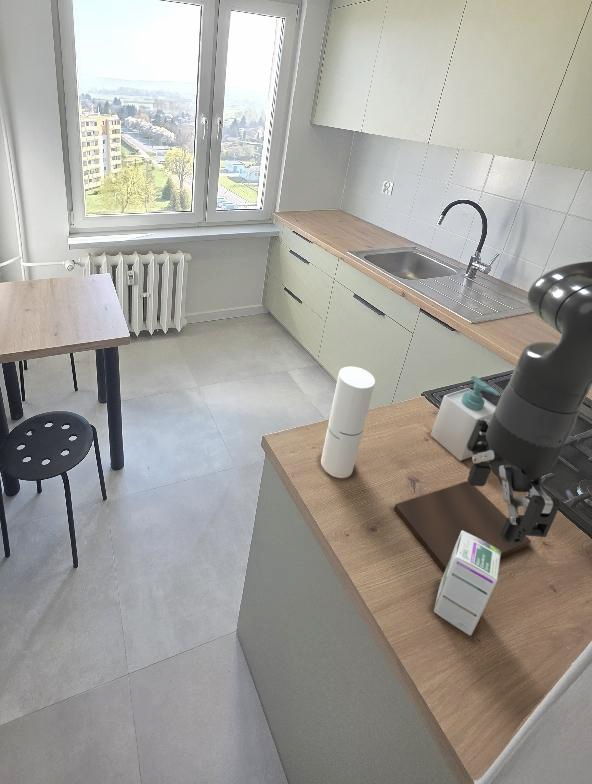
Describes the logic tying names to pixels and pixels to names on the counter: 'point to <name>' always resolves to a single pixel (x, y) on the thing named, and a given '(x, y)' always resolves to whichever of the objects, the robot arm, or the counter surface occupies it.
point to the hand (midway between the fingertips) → (490, 509)
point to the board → (455, 521)
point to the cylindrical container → (347, 420)
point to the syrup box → (467, 582)
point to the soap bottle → (462, 417)
